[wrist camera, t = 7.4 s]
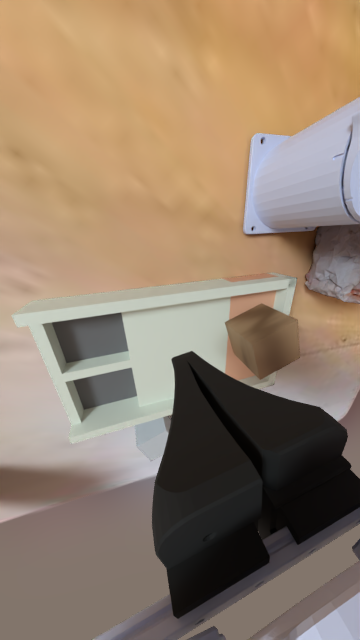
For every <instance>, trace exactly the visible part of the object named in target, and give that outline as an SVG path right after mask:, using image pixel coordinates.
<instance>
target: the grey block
mask: <svg viewBox="0 0 360 640" xmlns="http://www.w3.org/2000/svg"><path fill="white" fill-rule="evenodd" d="M170 424H171V419H170V418H169V417H168V416H165V417H162V418H158V419H155V420H151V421H148V422H145V423H141V424H138V425H135V432H136V444H137V448H138V449H139V450H140V451H141V452H142V453H143V454H144V455H145V456H146V457H147V458H148V459H149V460H150V461H153V460H155V459H156V458H158V457H160V456H162V455H163V454H164V450H165V446H166V442H167V438H168V434H169V429H170Z"/></svg>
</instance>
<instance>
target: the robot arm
mask: <svg viewBox="0 0 360 640" xmlns="http://www.w3.org/2000/svg"><path fill="white" fill-rule="evenodd" d="M261 139H262V141H263V144H261ZM351 224H360V97H358V98H357V99H355V100H353V101H352V102H350V103H348V104H346V105H345V106H343V107H341V108H340V109H338V110H336V111H335V112H333V113H331V114H329V115H328V116H326V117H324V118H323V119H321V120H319V121H317V122H316V123H314V124H312V125H311V126H309V127H307V128H305V129H304V130H302V131H300V132H299V133H297V134H295V135H293V136H283V135H273V134H263V133H257V134H255V135H254V136H253V137H252V139H251V146H250V158H249V169H248V181H247V192H246V204H245V215H244V226H243V231H244V233H245V234H262V233H280V232H299V231H313V230H314V229H315V228H316V226H333V225H351ZM252 227H253V231H252V230H251V228H252ZM171 361H172V364H173V368H174V377H175V390H174V404H173V412H172V418H171V424H170V429H169V434H168V438H167V442H166V446H165V450H164V454H163V457H162V461H161V464H160V467H159V470H158V473H157V477H156V480H155V486H154V495H153V509H152V529H153V537H154V546H155V552H156V555H157V557H158V558H159V559H160V560H161V562H162V563H163V564H164V566H165V567H166V568H167V576H168V583H169V589H170V594H169V595H167V596H165V597H164V598H162V599H160V600H159V601H157V602H155V603H153V604H152V605H150V606H148V607H147V608H145V609H143V610H141V611H140V612H138V613H136V614H135V615H133V616H131V617H129V618H128V619H126V620H124V621H123V622H121V623H119V624H117V625H116V626H114V627H112V628H111V629H109V630H107V631H105V632H104V633H102V634H101V635H99V636H97V637H95V638H93V639H92V640H177V639H179V638H181V637H182V636H184V635H185V634H187V633H188V632H190V631H192V630H193V629H195V628H196V627H198V626H199V625H201V624H203V623H204V622H206V621H207V620H209V619H210V618H212V617H214V616H215V615H217V614H218V613H220V612H221V611H223V610H225V609H226V608H228V607H229V606H231V605H232V604H234V603H236V602H237V601H239V600H240V599H242V598H244V597H245V596H247V595H248V594H250V593H251V592H253V591H255V590H256V589H258V588H259V587H261V586H262V585H264V584H266V583H267V582H268V581H270V580H272V579H274V578H275V577H277V576H278V575H280V574H281V573H283V572H285V571H286V570H288V569H289V568H291V567H292V566H294V565H296V564H297V563H299V562H300V561H302V560H303V559H305V558H307V557H308V556H310V555H311V554H313V553H314V552H316V551H318V550H319V549H321V548H322V547H324V546H325V545H327V544H329V543H330V542H332V541H333V540H335V539H337V538H338V537H340V536H341V535H343V534H344V533H346V532H348V531H349V530H351V529H352V528H354V527H355V526H357V525H358V524H360V479H359V478H358V477H357V476H356V475H355V474H354V473H353V472H352V471H351V470H350V468H351V464H350V463H349V462H348V461H347V460H346V459H345V458H344V457H343V456H342V452H343V450H344V447H345V444H346V442H347V437H348V436H347V430H346V429H345V428H344V427H343V426H342V425H341V424H340V423H338V422H337V421H336V420H335V419H334V418H333V417H332V416H330V415H329V414H328V413H327V412H325V411H324V410H323V409H321V408H320V407H317V406H313V405H308V404H304V403H300V402H296V401H292V400H289V399H285V398H282V397H279V396H275V395H273V394H270V393H267V392H264V391H262V390H259V389H256V388H254V387H251V386H249V385H247V384H244V383H242V382H240V381H238V380H236V379H234V378H232V377H230V376H229V375H227V374H225V373H223V372H222V371H220V370H218V369H217V368H215V367H214V366H212V365H211V364H209V363H208V362H206V361H205V360H204V359H202V358H201V357H200V356H198V355H197V354H196V353H194V352H193V351H190V352H187V353H184V354H181V355H178V356H175V357H173V358H172V359H171ZM258 531H259V532H258ZM352 549H353V552H354V553H355V555H356V556H357V557H358V559H359V560H360V539H359V540H358V542H357V543H356V544H355V545H354V546H353V547H352ZM187 640H226V638H225V636H224V635H223V634H219V633H218V629H217V628H216V627H214V626H213V627H211V628H209V629H207V630H205V631H203V632H201V633H199V634H197V635H195V636H193V637H191V638H189V639H187ZM248 640H360V561H358V562H357V563H355V564H354V565H352V566H351V567H349V568H348V569H346V570H345V571H343V572H342V573H340V574H339V575H338V576H336V577H334V578H333V579H331V580H330V581H329V582H327V583H326V584H324V585H323V586H321V587H320V588H319V589H317V590H316V591H314V592H313V593H311V594H310V595H309V596H307V597H306V598H304V599H303V600H301V601H300V602H299V603H297V604H296V605H294V606H293V607H292V608H290V609H289V610H288V611H286V612H285V613H283V614H282V615H281V616H279V617H278V618H276V619H275V620H274V621H272V622H271V623H270V624H268V625H267V626H266V627H264V628H263V629H262V630H260V631H259V632H257V633H256V634H255V635H253V636H252V637H251V638H249V639H248Z"/></svg>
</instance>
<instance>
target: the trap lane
mask: <svg viewBox="0 0 360 640" xmlns="http://www.w3.org/2000/svg"><path fill="white" fill-rule="evenodd" d="M296 281H297V278H295V277H291V276H286V275H282V274H277V273H266V274H257V275H249V276H240V277H232V278H223V279H215V280H206V281H197V282H189V283H180V284H172V285H163V286H155V287H146V288H138V289H129V290H120V291H112V292H103V293H95V294H86V295H78V296H69V297H61V298H52V299H43V300H35V301H31V302H29V303H28V304H26V305H25V306H24V307H22V308H21V309H19V310H18V311H17V312H15V313H14V314H13V315H12V317H13V319H14V322H15V324H16V326H17V327H24V326H29V328H30V330H31V333H32V335H33V337H34V340H35V342H36V344H37V346H38V349H39V351H40V353H41V356H42V358H43V360H44V363H45V365H46V367H47V370H48V372H49V374H50V377H51V379H52V381H53V383H54V386H55V388H56V390H57V393H58V395H59V397H60V400H61V402H62V404H63V407H64V409H65V411H66V414H67V416H68V418H69V421H70V423H71V425H72V426H71V430H70V434H69V437H68V438H69V440H70V443H71V444H73V443H76V442H80V441H83V440H87V439H90V438H93V437H97V436H100V435H104V434H107V433H111V432H114V431H117V430H121V429H124V428H128V427H131V426H134V425H138V424H141V423H145V422H148V421H151V420H155V419H158V418H162V417H165V416H169V415H172V412H173V404H174V390H175V377H174V368H173V364H172V361H171V359H172V358H173V357H175V356H178V355H181V354H184V353H187V352H190V351H193V352H194V353H196V354H197V355H198V356H200V357H201V358H202V359H204V360H205V361H206V362H208V363H209V364H211V365H212V366H214V367H215V368H217V369H218V370H220V371H222V372H223V373H225V374H227V375H229V376H230V377H232V378H234V379H236V380H238V381H240V382H242V383H244V384H247V385H249V386H251V387H254V388H256V389H261V388H264V387H268V386H271V385H274V382H275V377H276V373H277V371H275V372H274V373H272V374H270V375H268V376H267V377H265V378H263V379H261V380H260V379H259V378H258V377H257V376H256V375H255V374H254V373H253V372H252V371H251V370H250V369H249V368H248V367H247V366H246V365H245V364H244V363H243V362H242V361H241V360H240V359H239V358H238V357H237V356H236V355H235V354H234V352H233V349H232V346H231V342H230V339H229V336H228V332H227V329H226V326H225V322H226V321H228V320H230V319H232V318H234V317H236V316H238V315H240V314H242V313H244V312H246V311H247V310H249V309H251V308H253V307H255V306H257V305H259V304H261V303H262V304H264V305H266V306H269V307H271V308H273V309H275V310H277V311H279V312H282V313H284V314H286V315H288V316H289V313H290V309H291V304H292V300H293V295H294V291H295V286H296Z"/></svg>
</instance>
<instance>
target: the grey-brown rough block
mask: <svg viewBox="0 0 360 640" xmlns="http://www.w3.org/2000/svg"><path fill="white" fill-rule="evenodd" d="M316 233H317V236H316V239H315V243H316V245H317V246H316V248H315V250H314V251H313V257H312V258H313V262H312V265H311V268H310V270H309V272H308V273H307V274H306V275H305V276H306V278H307V280H308V281H306V282H305V284H306V285H307V287H308V289H309V290H313V291H316V292H318V293H321V294H324V295H326V296H330V297H334V298H337V299H341V300H342V301H344V302H353V303H358V304H360V224H351V225H333V226H319V228H318V229H317V232H316Z"/></svg>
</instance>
